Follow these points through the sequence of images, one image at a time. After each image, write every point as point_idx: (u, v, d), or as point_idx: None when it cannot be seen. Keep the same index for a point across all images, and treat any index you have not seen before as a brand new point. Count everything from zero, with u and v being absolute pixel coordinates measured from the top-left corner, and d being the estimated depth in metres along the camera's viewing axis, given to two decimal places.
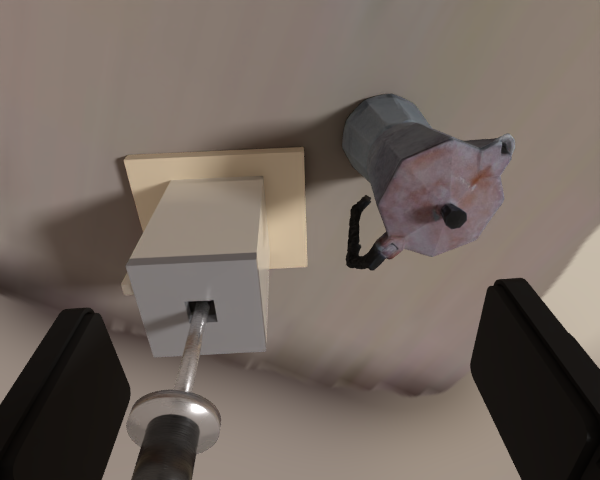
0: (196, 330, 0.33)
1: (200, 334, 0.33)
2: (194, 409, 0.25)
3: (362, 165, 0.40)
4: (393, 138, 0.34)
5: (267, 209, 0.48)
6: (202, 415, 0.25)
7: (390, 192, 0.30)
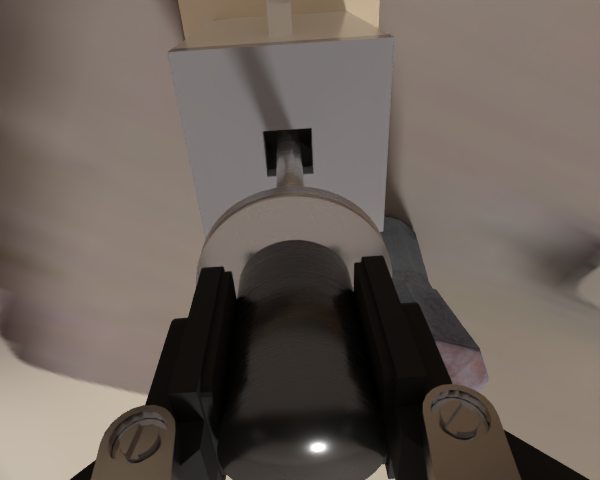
0: None
1: None
2: None
3: None
4: None
5: None
6: None
7: (450, 348, 0.29)
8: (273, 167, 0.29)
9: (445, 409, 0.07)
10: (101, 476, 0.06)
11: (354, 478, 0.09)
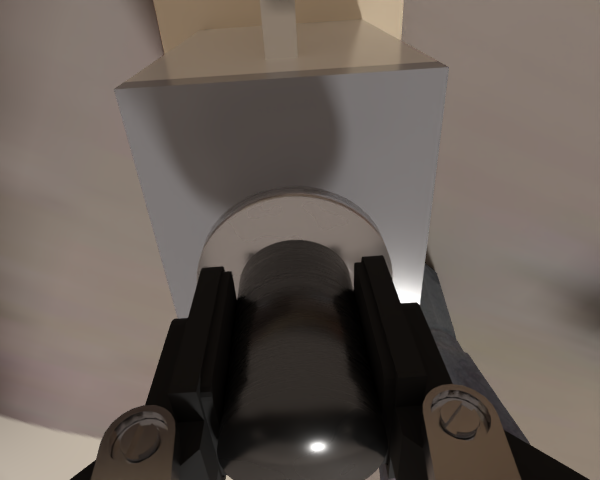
0: None
1: None
2: None
3: None
4: None
5: None
6: None
7: None
8: None
9: (445, 409, 0.07)
10: (101, 476, 0.06)
11: (354, 478, 0.09)
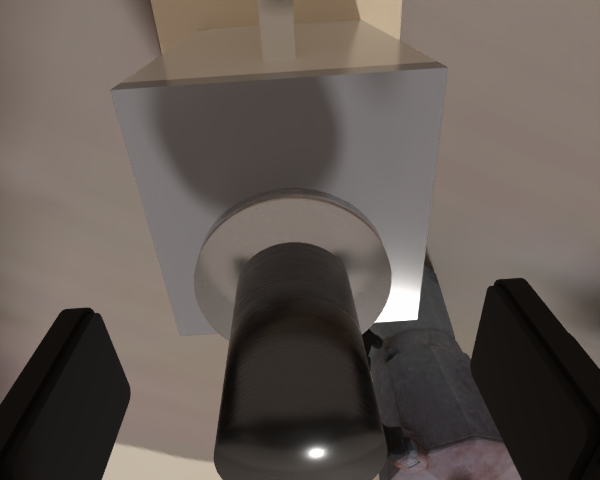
0: None
1: None
2: None
3: None
4: None
5: None
6: None
7: (494, 447, 0.23)
8: None
9: None
10: None
11: None
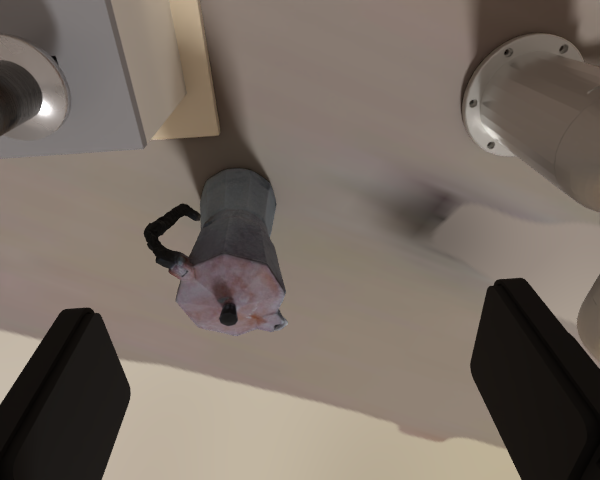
0: None
1: None
2: (56, 118, 0.24)
3: (224, 203, 0.43)
4: (265, 237, 0.40)
5: None
6: (48, 125, 0.24)
7: (238, 261, 0.35)
8: None
9: None
10: None
11: None
